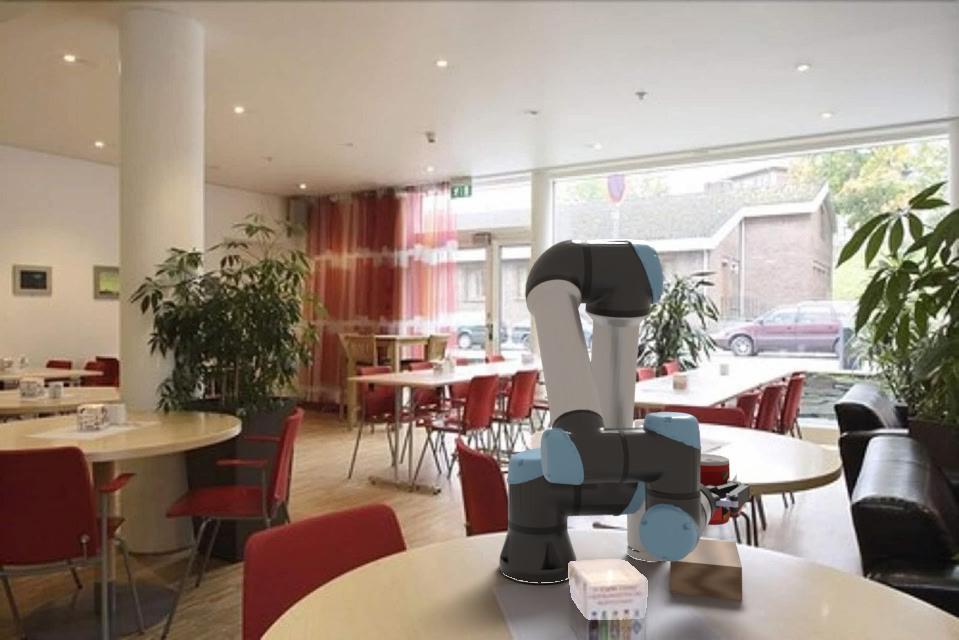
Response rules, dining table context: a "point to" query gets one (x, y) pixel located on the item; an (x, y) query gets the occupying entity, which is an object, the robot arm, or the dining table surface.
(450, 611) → the dining table surface
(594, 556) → the dining table surface
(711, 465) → the canned food
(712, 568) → the walnut box
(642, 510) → the bottle
